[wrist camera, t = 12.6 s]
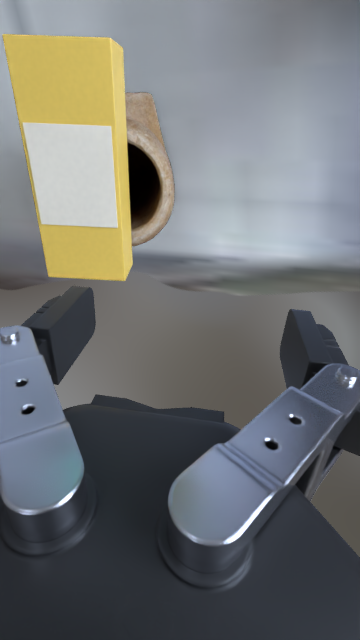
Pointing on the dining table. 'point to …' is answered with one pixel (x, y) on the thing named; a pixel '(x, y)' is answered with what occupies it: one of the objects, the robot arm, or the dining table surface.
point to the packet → (75, 150)
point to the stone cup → (147, 169)
